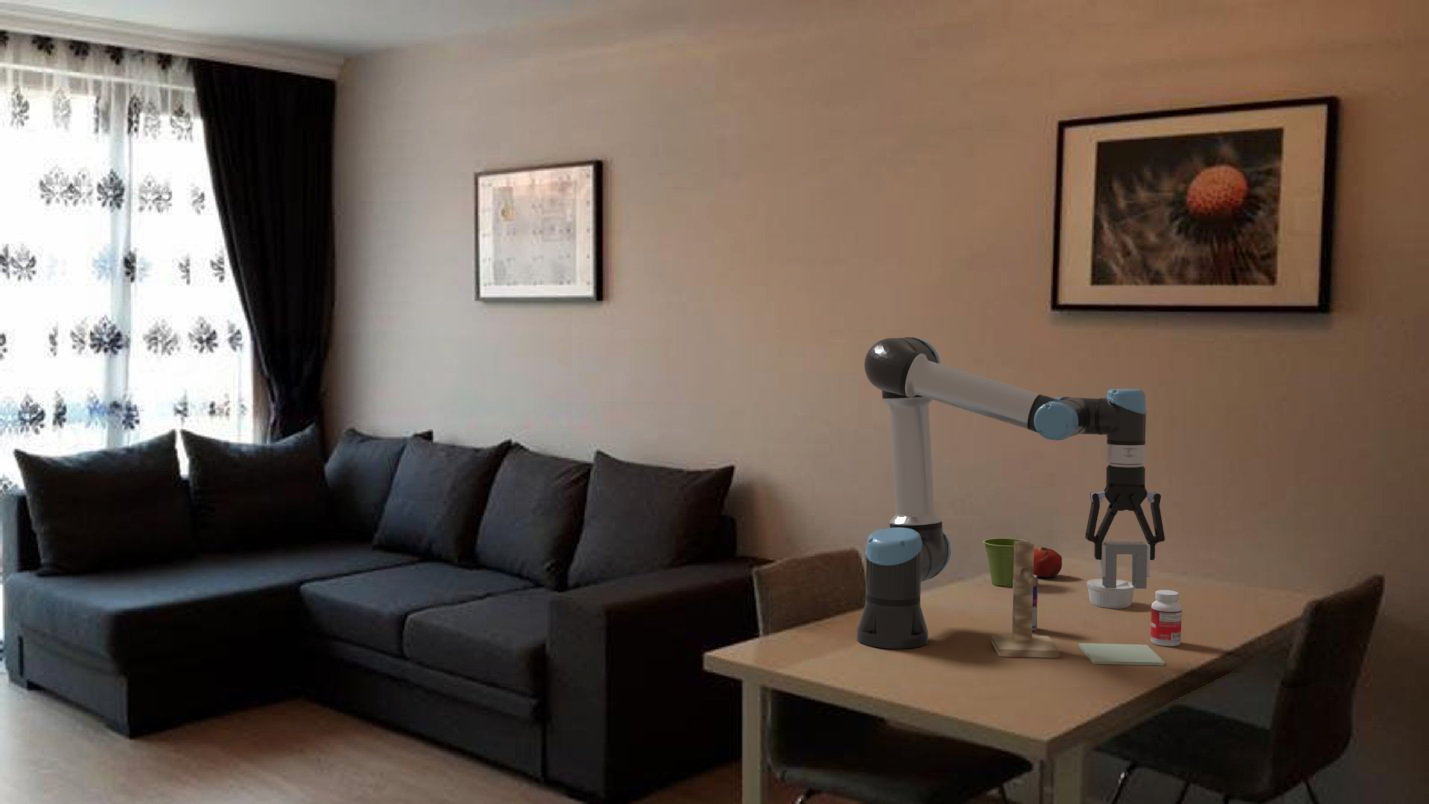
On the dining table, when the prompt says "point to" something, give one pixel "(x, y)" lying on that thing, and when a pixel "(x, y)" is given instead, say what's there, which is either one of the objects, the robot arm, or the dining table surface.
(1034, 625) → the energy drink
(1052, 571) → the tomato
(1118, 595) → the ramekin
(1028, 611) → the stand
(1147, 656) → the mat
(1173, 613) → the pill bottle
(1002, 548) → the plant pot
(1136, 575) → the c link
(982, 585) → the dining table surface
